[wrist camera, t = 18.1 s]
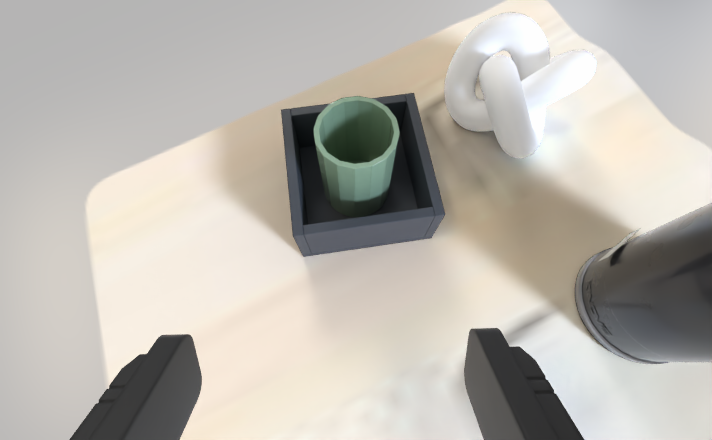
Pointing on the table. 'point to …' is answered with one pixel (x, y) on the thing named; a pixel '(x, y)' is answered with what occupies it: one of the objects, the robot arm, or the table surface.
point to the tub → (402, 207)
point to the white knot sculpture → (511, 81)
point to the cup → (356, 154)
